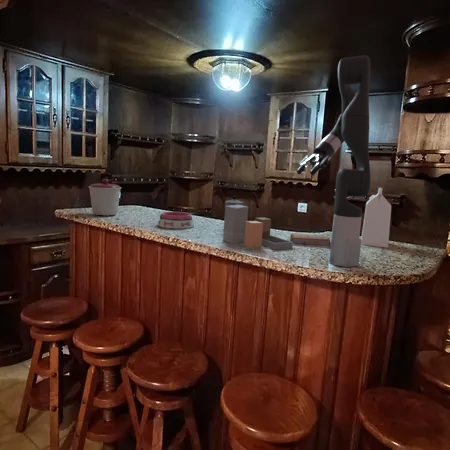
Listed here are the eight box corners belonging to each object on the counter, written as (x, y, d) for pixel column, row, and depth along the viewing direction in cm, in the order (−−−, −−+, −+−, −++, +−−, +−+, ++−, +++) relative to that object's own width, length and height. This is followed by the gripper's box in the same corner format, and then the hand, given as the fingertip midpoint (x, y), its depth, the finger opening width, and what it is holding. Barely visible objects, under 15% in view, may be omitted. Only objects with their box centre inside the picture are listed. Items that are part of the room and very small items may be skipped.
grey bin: (292, 249, 151) (292, 242, 151) (273, 250, 147) (274, 243, 146) (264, 239, 169) (264, 233, 168) (246, 240, 164) (247, 234, 164)
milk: (388, 247, 167) (395, 189, 163) (360, 244, 171) (367, 187, 167) (386, 242, 178) (393, 188, 174) (361, 240, 182) (367, 186, 178)
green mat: (267, 249, 148) (267, 248, 148) (250, 251, 144) (250, 249, 144) (254, 244, 156) (254, 243, 156) (237, 245, 153) (237, 244, 153)
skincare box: (235, 239, 165) (237, 204, 162) (247, 242, 160) (249, 206, 157) (221, 241, 159) (223, 204, 156) (233, 244, 154) (235, 206, 151)
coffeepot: (241, 235, 177) (244, 197, 174) (221, 234, 177) (223, 196, 174) (242, 230, 192) (244, 195, 189) (224, 228, 192) (226, 194, 190)
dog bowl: (196, 229, 186) (197, 216, 185) (159, 229, 181) (159, 215, 180) (190, 223, 203) (191, 211, 202) (156, 223, 199) (156, 210, 198)
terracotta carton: (261, 247, 149) (263, 222, 148) (250, 248, 147) (252, 223, 145) (254, 244, 154) (256, 220, 152) (244, 245, 151) (245, 221, 150)
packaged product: (328, 234, 166) (332, 238, 156) (326, 245, 167) (331, 250, 157) (287, 231, 167) (289, 235, 157) (286, 242, 168) (288, 247, 158)
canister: (102, 218, 204) (102, 179, 201) (81, 214, 214) (81, 177, 210) (127, 215, 219) (128, 179, 216) (107, 212, 229) (107, 177, 225)
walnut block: (269, 242, 161) (271, 219, 160) (259, 242, 159) (261, 219, 157) (262, 239, 166) (264, 217, 164) (253, 240, 163) (255, 217, 162)
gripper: (312, 141, 164) (289, 166, 160) (335, 140, 151) (311, 167, 148) (320, 154, 167) (297, 179, 163) (343, 154, 155) (320, 181, 151)
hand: (304, 173), depth 155 cm, fingers open, 8 cm apart
